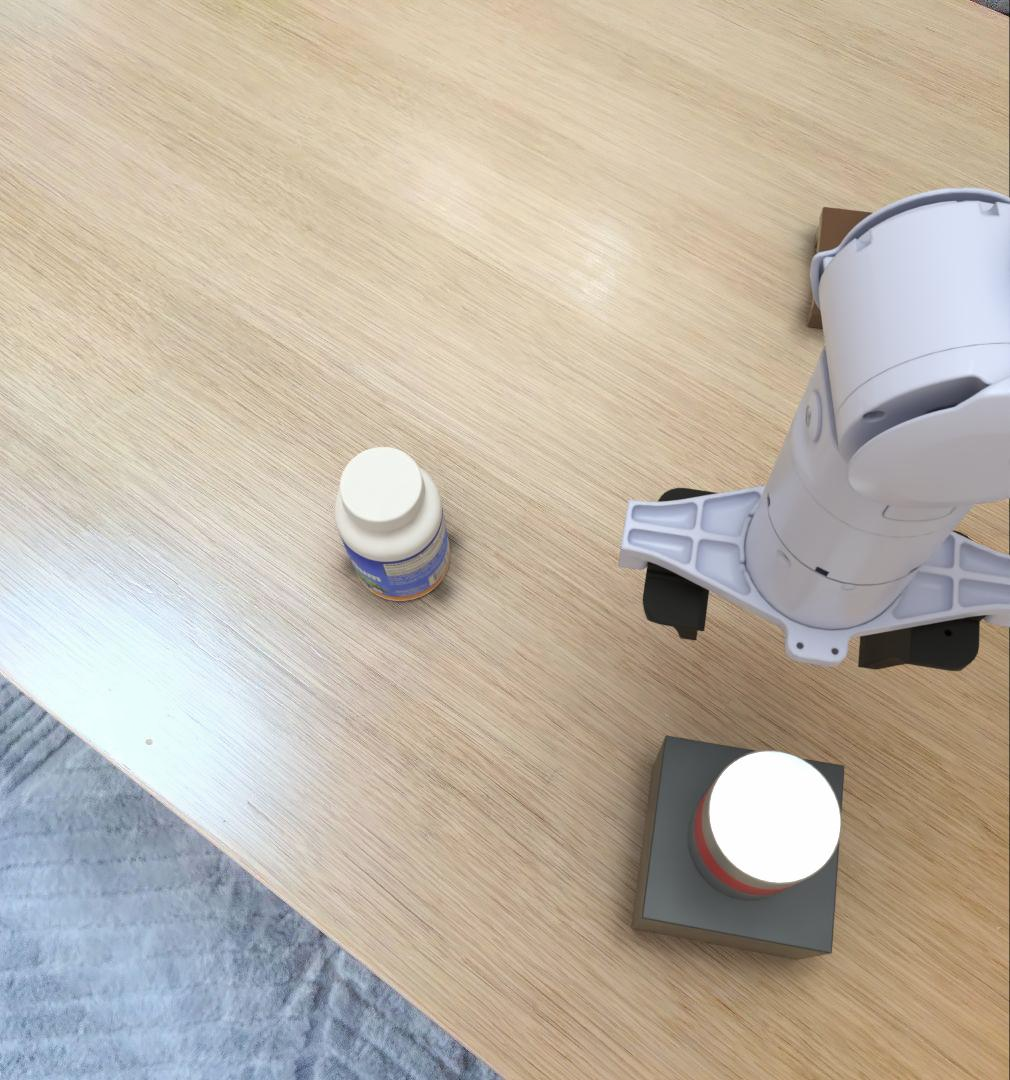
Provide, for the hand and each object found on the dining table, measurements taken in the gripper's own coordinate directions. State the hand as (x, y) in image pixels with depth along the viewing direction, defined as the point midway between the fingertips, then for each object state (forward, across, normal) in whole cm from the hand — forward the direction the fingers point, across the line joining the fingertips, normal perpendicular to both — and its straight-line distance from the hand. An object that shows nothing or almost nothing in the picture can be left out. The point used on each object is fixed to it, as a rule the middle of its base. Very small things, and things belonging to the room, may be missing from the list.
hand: (777, 631), depth 49 cm
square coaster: (+10, 0, -8) cm, 13 cm away
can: (+3, 0, -8) cm, 9 cm away
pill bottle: (+11, -19, +4) cm, 22 cm away
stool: (+10, +5, +26) cm, 29 cm away
